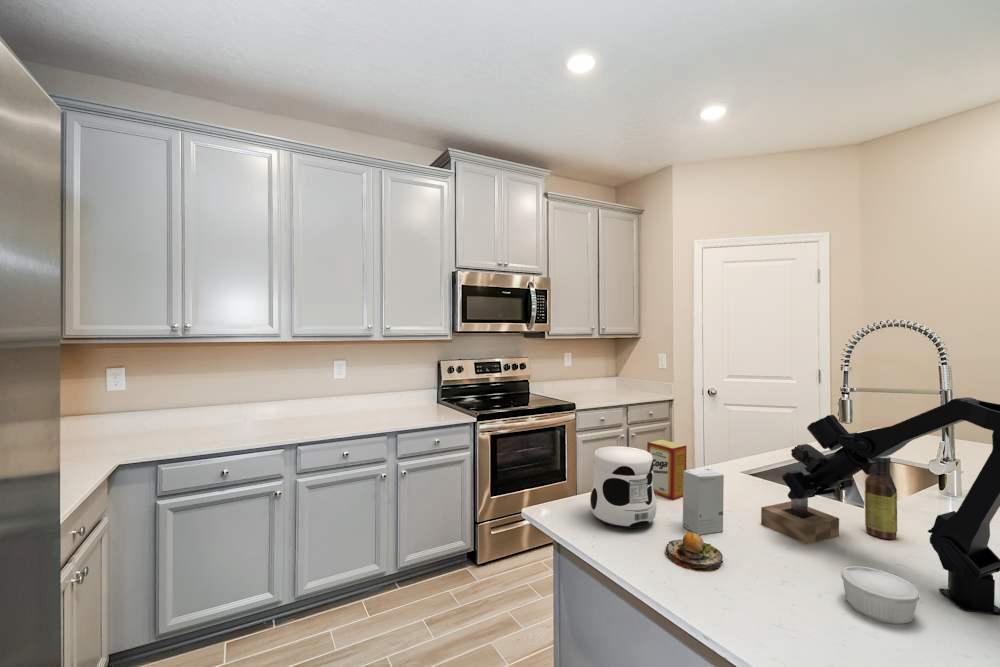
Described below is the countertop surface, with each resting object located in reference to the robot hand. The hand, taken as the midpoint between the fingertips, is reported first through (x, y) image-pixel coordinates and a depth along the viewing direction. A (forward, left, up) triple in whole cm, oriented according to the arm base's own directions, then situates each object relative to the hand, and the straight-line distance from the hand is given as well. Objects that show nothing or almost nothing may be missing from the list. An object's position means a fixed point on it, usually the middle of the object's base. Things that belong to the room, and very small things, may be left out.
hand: (794, 496), depth 117 cm
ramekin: (-34, -2, -9) cm, 35 cm away
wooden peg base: (-1, -1, -8) cm, 8 cm away
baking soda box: (+18, +29, -9) cm, 35 cm away
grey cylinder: (-1, -1, -7) cm, 7 cm away
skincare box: (-6, +23, -9) cm, 26 cm away
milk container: (-5, +43, -9) cm, 44 cm away
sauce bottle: (+1, -20, -8) cm, 22 cm away
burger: (-22, +28, -9) cm, 37 cm away
